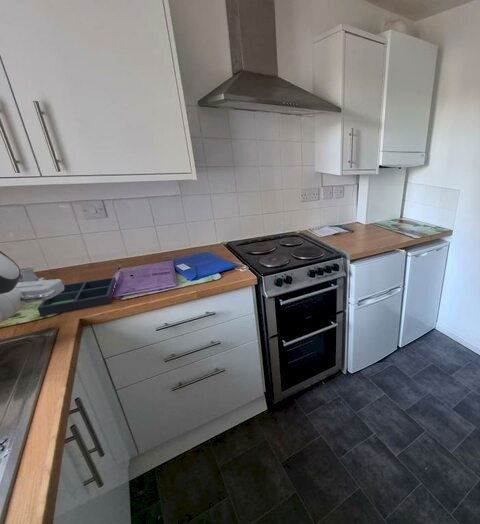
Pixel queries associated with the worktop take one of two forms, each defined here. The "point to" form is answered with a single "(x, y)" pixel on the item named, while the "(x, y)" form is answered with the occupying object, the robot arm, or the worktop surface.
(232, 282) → the worktop surface
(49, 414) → the worktop surface
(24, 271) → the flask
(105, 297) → the grid
